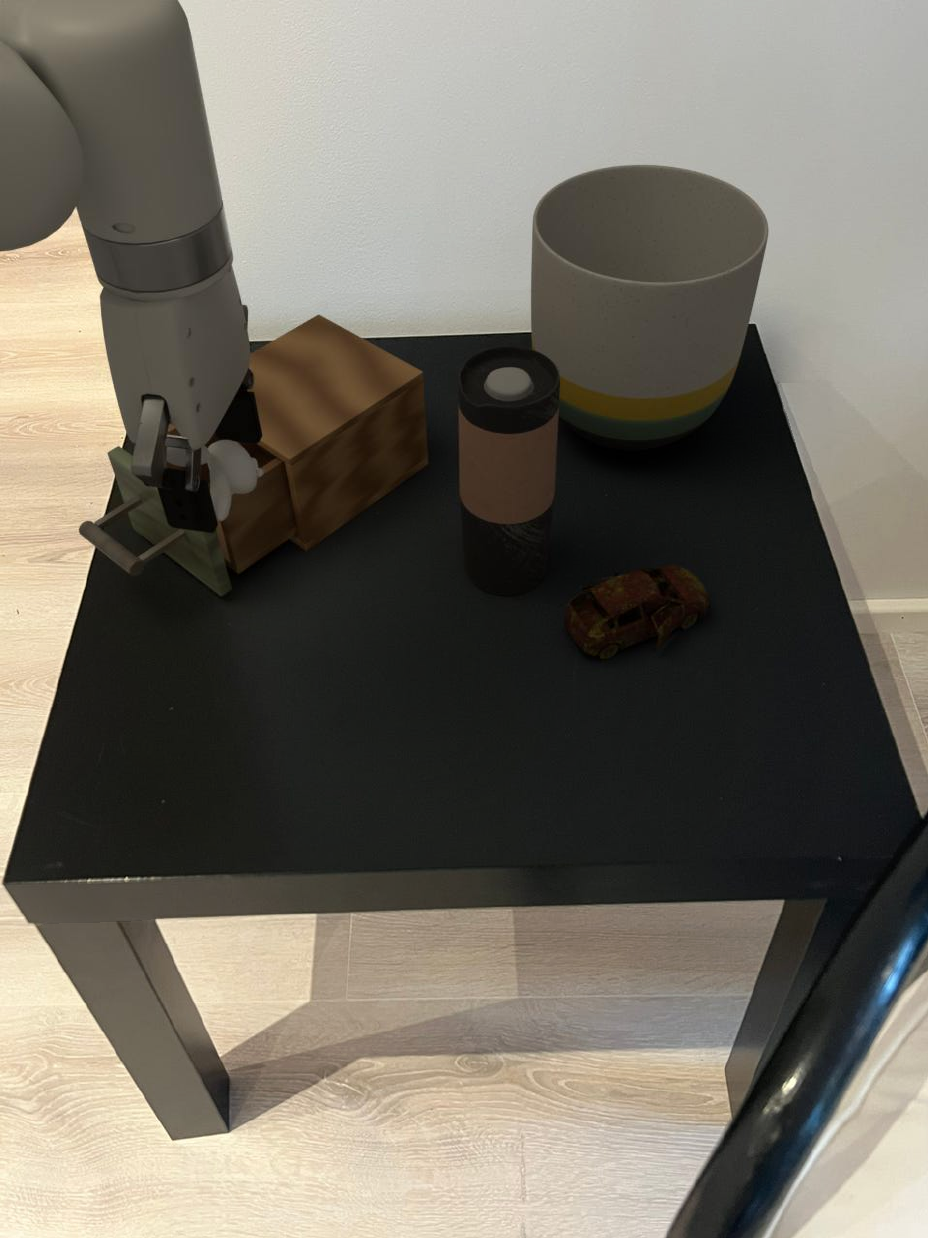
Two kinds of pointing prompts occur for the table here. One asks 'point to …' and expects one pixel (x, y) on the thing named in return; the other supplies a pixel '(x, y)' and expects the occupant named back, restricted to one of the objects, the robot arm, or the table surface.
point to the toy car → (635, 609)
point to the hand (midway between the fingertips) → (217, 480)
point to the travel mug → (507, 466)
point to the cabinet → (337, 422)
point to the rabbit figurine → (224, 471)
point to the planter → (643, 298)
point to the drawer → (234, 543)
